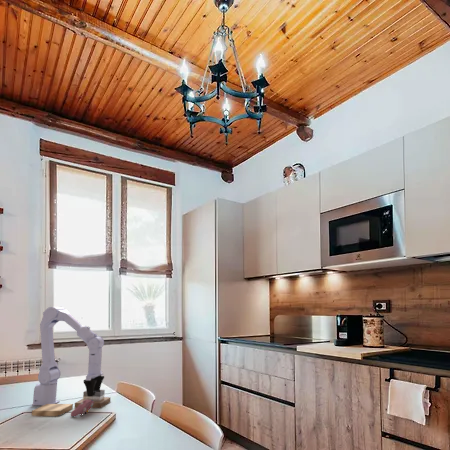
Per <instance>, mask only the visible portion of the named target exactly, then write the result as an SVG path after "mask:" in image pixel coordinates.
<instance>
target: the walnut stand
mask: <svg viewBox="0 0 450 450" xmlns="http://www.w3.org/2000/svg"><path fill="white" fill-rule="evenodd" d="M81 402H83V398H82V399H79V400H78V401H76V402H74V409H76V408H77V407H78V405H79V404H81ZM93 402H94V404H93V406H92V407H91V409H101V408H103V407H105V406H107V405H108V404H109V403H111V396H110V397H109V396H107V397H106V396H104V399H103V400H102V401H93Z"/></svg>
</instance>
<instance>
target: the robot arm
mask: <svg viewBox="0 0 450 450" xmlns="http://www.w3.org/2000/svg"><path fill="white" fill-rule="evenodd" d="M58 322H65V323H66V324H67V325H68V326H69V327H71V328H72V329H73V330H74V331H75V332H76V336H77V337H79V338H80V339H81V340H82V341H83V342H84V343H85V344H86V346H87V348H88V363H87V364H88V365H87V374H86V375H85V379H84V380H83V384H84V386H85V389H86V390H87V395H88V396H93V393H94V390H101V386H102V383H103V381H104V379H105V375H104V372H103V371H102V353H103V347H104V345H105V340H104V338H103V336H101V335H98V333H95V332H94V331H93V330H92V329H91V327H90V326H87V325H82V323H80V322H79V321H78V320H77V319H76V318H75V317H74V316H73V315H72V314H71V313H70V312H69V310H67V309H66V308H65V307H63V306H49V307H47V308H46V309H45V310H44V311H43V312H42V318H41V320H40V324H39V329H40V330H39V331H40V345H41V346H40V347H41V359H42V360H41V362H42V364H41V365H40V366H39V373H38V376H37V380H38V382H39V383H37V384H35V386H34V388H33V394H32V395H33V397H32V404H31V405H32V406H43V405H45V404H59V403H60V400H57V391H58V380H59V379H60V377H61V369H60V368H59V364H58V363H57V362H56V356H55V343H54V329H53V327H54V326H55V325H56V324H57V323H58ZM86 390H85V391H86Z"/></svg>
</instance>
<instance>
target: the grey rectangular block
mask: <svg viewBox="0 0 450 450" xmlns="http://www.w3.org/2000/svg"><path fill="white" fill-rule="evenodd" d="M105 391H106V390H105V389H100V390H94V393H93V396H88V395H87V390H84V391H83V394H82V399H83V401H84V400H89V399H90V400H92V401H102V400H103V399H104V397H105Z"/></svg>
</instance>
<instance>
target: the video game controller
mask: <svg viewBox="0 0 450 450" xmlns="http://www.w3.org/2000/svg"><path fill="white" fill-rule="evenodd" d="M93 404H94V402H93V401H92V400H90V399H89V400H84V401H83V402H81V404H79V405H78V407H77V408H74V409H72V411H71V413H70V416H71V417H72V416H75V417H77V416H78V415H80V414H81V415H82V414H83V413H84V414H85V412H87V413H89V412H90V410H91V409H92V408H91V407H92V406H93ZM84 414H83V415H84ZM81 415H80V416H81ZM83 415H82V416H83Z"/></svg>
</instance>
